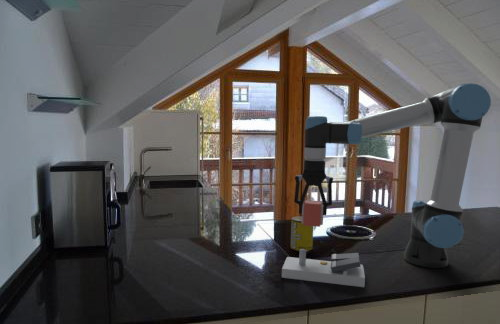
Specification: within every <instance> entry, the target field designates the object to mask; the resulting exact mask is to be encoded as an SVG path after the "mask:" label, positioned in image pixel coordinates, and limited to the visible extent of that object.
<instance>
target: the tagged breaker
mask: <svg viewBox="0 0 500 324" xmlns="http://www.w3.org/2000/svg"><path fill="white" fill-rule="evenodd" d="M354 257H359V258H360V255H359V252H352V253H351V252H349V253H332V254H331V258H330V261H331V262H332V261H340V260H344V259H349V258H354Z"/></svg>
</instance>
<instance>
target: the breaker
mask: <svg viewBox="0 0 500 324" xmlns="http://www.w3.org/2000/svg"><path fill="white" fill-rule="evenodd" d="M360 264H361V261H360V256H359V257H354V258H349V259H344V260H340V261H332V262H331V270H332V272H336V271H341V270H346V269H351V268H357V267H361V266H360Z"/></svg>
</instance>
